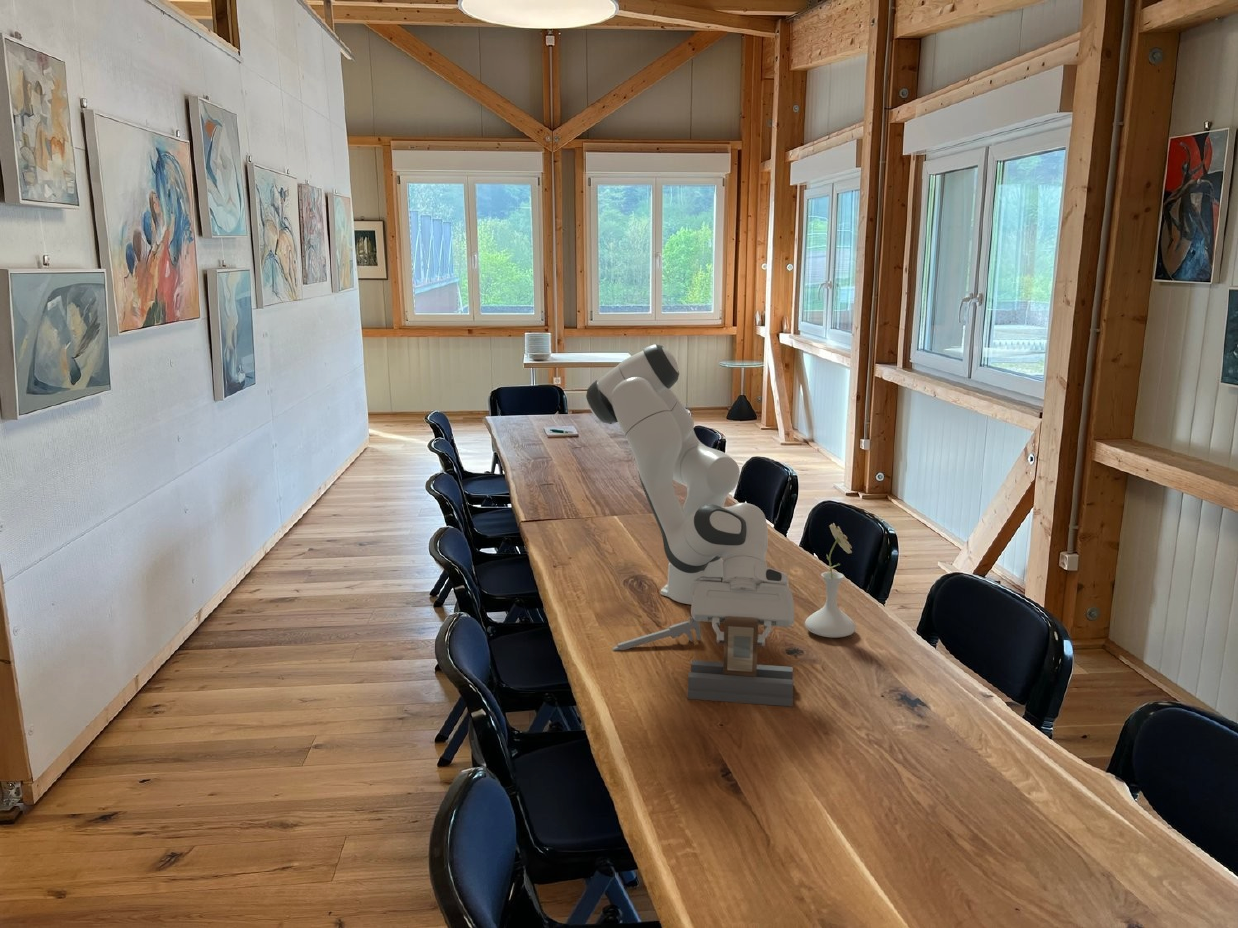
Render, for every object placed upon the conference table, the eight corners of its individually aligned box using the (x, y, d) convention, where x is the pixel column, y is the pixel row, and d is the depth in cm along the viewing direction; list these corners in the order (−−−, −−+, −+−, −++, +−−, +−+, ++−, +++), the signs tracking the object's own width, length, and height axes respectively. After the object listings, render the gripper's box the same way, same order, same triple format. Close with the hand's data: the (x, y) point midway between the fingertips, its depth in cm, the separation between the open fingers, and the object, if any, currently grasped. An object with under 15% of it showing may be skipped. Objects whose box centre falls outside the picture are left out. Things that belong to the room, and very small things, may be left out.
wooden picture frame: (723, 668, 178) (725, 616, 176) (756, 671, 177) (758, 618, 175) (722, 674, 176) (724, 621, 174) (756, 676, 175) (757, 623, 172)
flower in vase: (856, 644, 200) (862, 535, 195) (804, 640, 202) (808, 532, 197) (853, 622, 212) (859, 519, 207) (804, 618, 214) (808, 517, 209)
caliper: (699, 639, 203) (699, 613, 202) (700, 641, 202) (701, 615, 201) (611, 650, 198) (611, 623, 196) (613, 652, 196) (613, 625, 195)
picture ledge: (692, 676, 184) (692, 657, 183) (791, 683, 181) (792, 664, 180) (687, 698, 174) (687, 679, 174) (792, 706, 171) (793, 686, 170)
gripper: (691, 568, 181) (686, 633, 174) (795, 574, 178) (794, 640, 170) (693, 582, 187) (688, 645, 179) (794, 588, 183) (792, 653, 176)
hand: (740, 643), depth 175 cm, fingers closed on wooden picture frame, 6 cm apart
